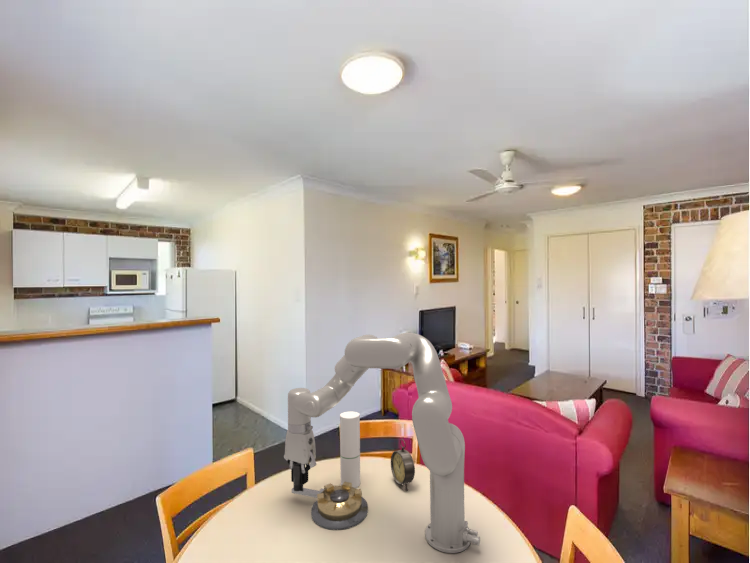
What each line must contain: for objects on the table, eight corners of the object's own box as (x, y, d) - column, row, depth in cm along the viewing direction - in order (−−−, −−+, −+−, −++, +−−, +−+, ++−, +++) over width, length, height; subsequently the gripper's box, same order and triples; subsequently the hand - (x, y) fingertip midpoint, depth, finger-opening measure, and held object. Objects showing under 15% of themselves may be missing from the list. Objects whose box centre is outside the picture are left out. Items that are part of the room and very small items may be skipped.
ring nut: (367, 497, 120) (367, 464, 120) (351, 524, 107) (351, 486, 107) (303, 485, 128) (303, 454, 128) (281, 508, 115) (281, 473, 115)
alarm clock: (389, 479, 135) (389, 435, 135) (402, 475, 137) (402, 432, 137) (404, 494, 125) (403, 446, 125) (418, 490, 127) (417, 443, 127)
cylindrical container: (361, 479, 135) (360, 411, 135) (358, 489, 128) (358, 418, 128) (342, 478, 136) (342, 411, 136) (338, 488, 128) (338, 418, 129)
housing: (378, 504, 119) (378, 500, 119) (346, 537, 103) (346, 533, 103) (333, 489, 128) (333, 486, 128) (299, 518, 112) (299, 514, 112)
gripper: (326, 427, 121) (326, 482, 121) (288, 418, 129) (289, 470, 129) (311, 435, 114) (311, 494, 114) (273, 425, 122) (273, 480, 122)
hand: (299, 481), depth 121 cm, fingers closed on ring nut, 3 cm apart
